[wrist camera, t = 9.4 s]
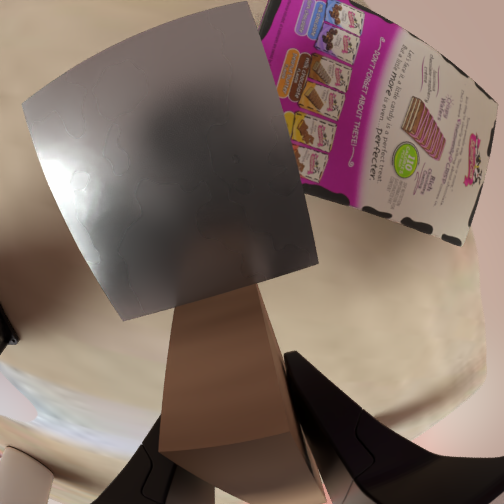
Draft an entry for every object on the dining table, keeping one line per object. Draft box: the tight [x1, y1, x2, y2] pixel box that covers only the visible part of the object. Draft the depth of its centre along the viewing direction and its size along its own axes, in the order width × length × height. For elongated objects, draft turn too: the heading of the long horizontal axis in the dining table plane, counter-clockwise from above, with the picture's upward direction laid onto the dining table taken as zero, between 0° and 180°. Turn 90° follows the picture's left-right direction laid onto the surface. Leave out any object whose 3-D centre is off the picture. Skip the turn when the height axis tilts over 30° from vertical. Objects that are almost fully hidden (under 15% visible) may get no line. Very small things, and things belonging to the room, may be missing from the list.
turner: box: [22, 1, 327, 504], centre depth 7 cm, size 17×6×5 cm, turn 17°
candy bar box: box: [258, 0, 498, 247], centre depth 14 cm, size 11×5×16 cm
